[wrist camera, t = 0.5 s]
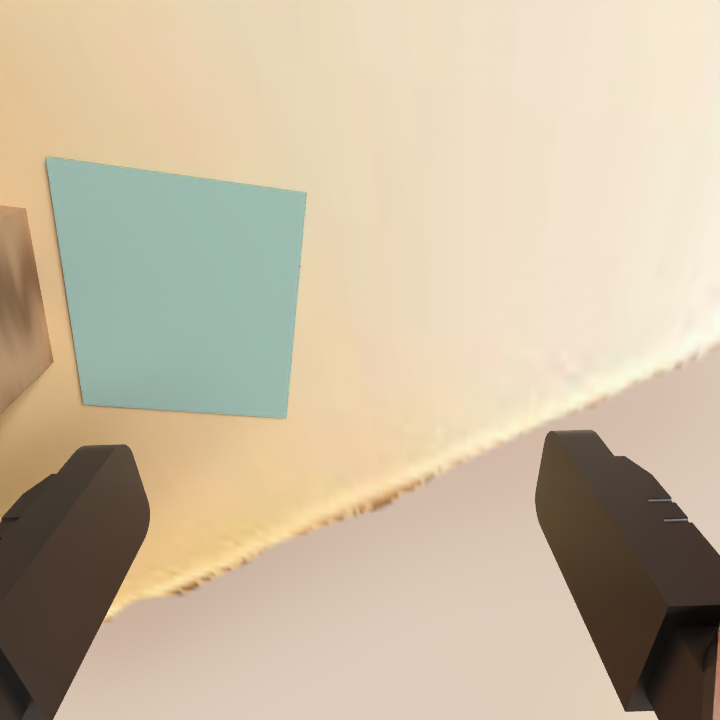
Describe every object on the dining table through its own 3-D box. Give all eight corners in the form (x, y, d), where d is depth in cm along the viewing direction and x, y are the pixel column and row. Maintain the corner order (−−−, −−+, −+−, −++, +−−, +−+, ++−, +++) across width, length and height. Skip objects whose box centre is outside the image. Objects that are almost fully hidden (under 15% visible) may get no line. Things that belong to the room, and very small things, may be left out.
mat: (49, 156, 25) (45, 157, 25) (306, 192, 27) (306, 193, 27) (85, 401, 33) (83, 404, 32) (286, 415, 35) (286, 418, 34)
